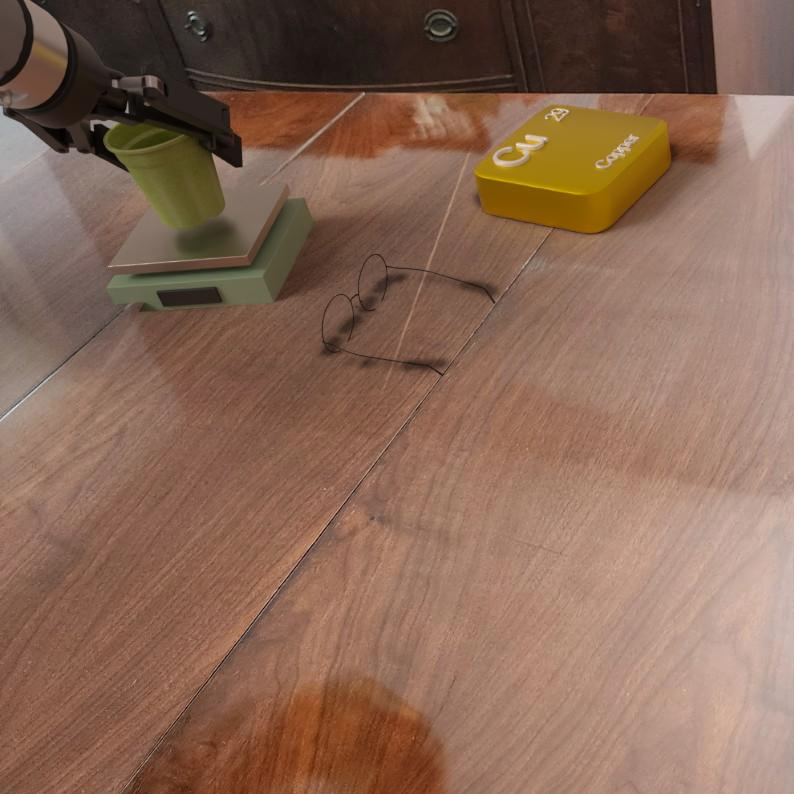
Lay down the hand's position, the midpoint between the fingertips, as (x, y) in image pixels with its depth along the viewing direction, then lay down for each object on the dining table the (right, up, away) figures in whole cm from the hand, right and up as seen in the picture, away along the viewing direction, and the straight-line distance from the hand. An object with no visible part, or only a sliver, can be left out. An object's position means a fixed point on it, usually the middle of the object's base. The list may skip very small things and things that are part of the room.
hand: (188, 157), depth 106 cm
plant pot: (0, -5, +1) cm, 5 cm away
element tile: (+37, -1, +6) cm, 37 cm away
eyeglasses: (+22, -18, -7) cm, 30 cm away
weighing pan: (+1, -6, +2) cm, 7 cm away
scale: (+1, -9, +5) cm, 10 cm away
